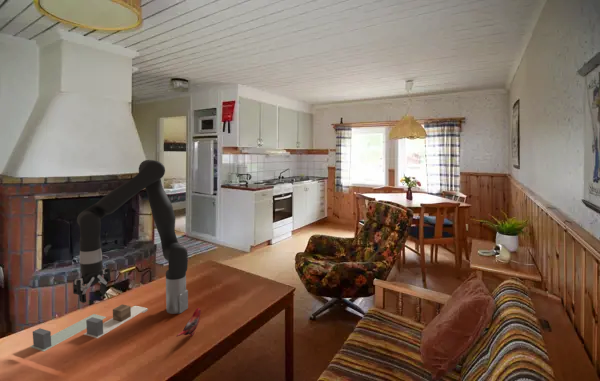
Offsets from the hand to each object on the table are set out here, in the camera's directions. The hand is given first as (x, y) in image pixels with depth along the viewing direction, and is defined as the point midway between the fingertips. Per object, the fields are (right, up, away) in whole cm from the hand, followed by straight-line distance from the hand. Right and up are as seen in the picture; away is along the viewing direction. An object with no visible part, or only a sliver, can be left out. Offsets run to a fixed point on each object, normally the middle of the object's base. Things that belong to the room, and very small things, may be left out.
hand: (93, 297), depth 124 cm
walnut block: (+3, -14, +14) cm, 20 cm away
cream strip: (+3, -16, +12) cm, 20 cm away
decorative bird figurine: (+39, -18, +3) cm, 43 cm away
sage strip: (-12, -16, +3) cm, 20 cm away
